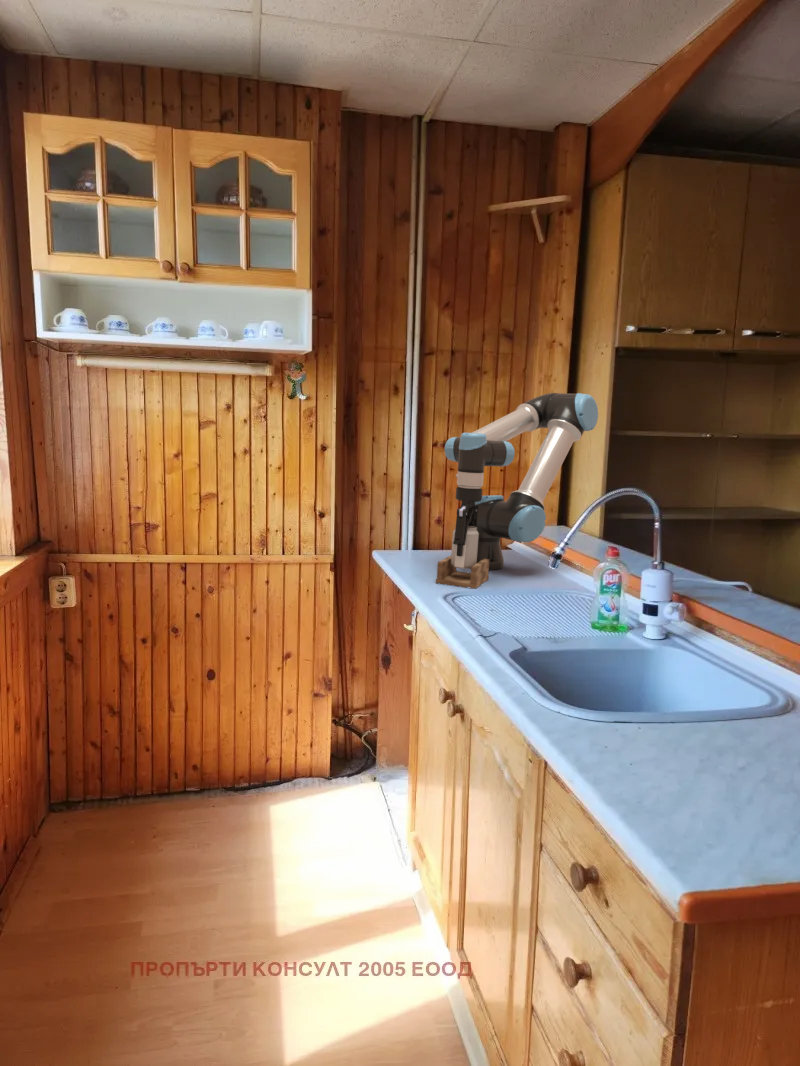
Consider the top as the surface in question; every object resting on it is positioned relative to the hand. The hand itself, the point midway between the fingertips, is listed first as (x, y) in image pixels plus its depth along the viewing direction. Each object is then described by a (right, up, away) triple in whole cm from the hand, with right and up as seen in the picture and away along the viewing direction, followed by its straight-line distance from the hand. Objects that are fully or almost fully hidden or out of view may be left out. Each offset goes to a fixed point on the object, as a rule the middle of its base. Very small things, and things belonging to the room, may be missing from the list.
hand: (463, 564), depth 211 cm
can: (0, -1, 0) cm, 1 cm away
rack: (0, -5, +1) cm, 5 cm away
